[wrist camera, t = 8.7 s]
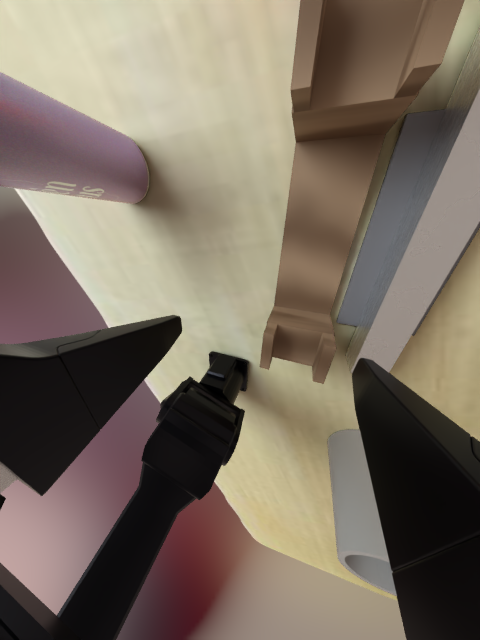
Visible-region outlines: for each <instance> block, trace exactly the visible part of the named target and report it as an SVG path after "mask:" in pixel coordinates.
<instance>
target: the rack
mask: <svg viewBox="0 0 480 640" xmlns="http://www.w3.org/2000/svg"><path fill="white" fill-rule="evenodd" d="M463 3H464V0H301V1H300V10H299V19H298V28H297V37H296V46H295V55H294V64H293V73H292V82H291V97H292V104H293V107H292V118H293V125H294V132H295V139H296V146H295V153H294V161H293V168H292V176H291V183H290V191H289V198H288V206H287V213H286V221H285V228H284V236H283V243H282V251H281V258H280V266H279V273H278V281H277V288H276V296H275V303H274V307H273V310H272V312H271V314H270V317H269V319H268V321H267V326H266V329H265V331H264V334H263V343H262V352H261V361H260V367H261V368H265V369H268V370H269V368H270V364H271V360H272V357H275V358H280V359H284V360H288V361H292V362H296V363H301V364H305V365H309V366H312V371H313V381H314V382H318V383H322V384H324V381H325V379H326V376H327V373H328V370H329V368H330V365H331V362H332V359H333V357H334V354H335V351H336V349H337V347H336V342H335V338H334V336H335V333H334V329H333V325H332V321H331V317H330V313H331V310H332V306H333V303H334V300H335V297H336V293H337V290H338V287H339V284H340V280H341V277H342V274H343V271H344V268H345V264H346V261H347V258H348V255H349V251H350V248H351V245H352V242H353V238H354V235H355V232H356V229H357V225H358V222H359V219H360V216H361V212H362V209H363V206H364V203H365V200H366V196H367V193H368V190H369V187H370V183H371V180H372V177H373V174H374V170H375V167H376V164H377V161H378V157H379V154H380V151H381V148H382V145H383V141H384V138H385V135H386V133H387V132H388V130H389V129H390V128H391V127H392V126H393V124H394V123H395V122H396V121H397V120H398V118H399V117H400V116H401V115H402V114H403V112H404V111H405V110H406V109H407V107H408V106H409V105H410V104H411V103H412V101H413V100H414V99H415V98H416V97H417V95H418V93H419V90H420V89H421V88H422V87H423V85H424V84H425V83H426V82H427V80H428V79H429V78H430V77H431V75H432V74H433V73H434V72H435V71H436V69H437V68H438V67H439V66H440V64H441V63H442V60H443V58H444V55H445V52H446V49H447V47H448V44H449V41H450V38H451V36H452V33H453V30H454V28H455V25H456V22H457V19H458V17H459V14H460V11H461V9H462V6H463Z"/></svg>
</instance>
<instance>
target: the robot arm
mask: <svg viewBox="0 0 480 640" xmlns="http://www.w3.org/2000/svg"><path fill="white" fill-rule="evenodd" d="M181 332H182V324H181V318H180V317H179V316H175V315H171V316H166V317H161V318H156V319H151V320H146V321H141V322H136V323H131V324H126V325H121V326H116V327H111V328H107V329H102V330H97V331H92V332H86V333H82V334H76V335H71V336H65V337H59V338H53V339H47V340H41V341H35V342H29V343H22V344H0V493H1V492H2V491H4V490H5V489H6V488H7V487H8V486H9V485H11V484H12V483H13V482H14V481H15V480H17V479H18V480H19V481H21V482H22V483H24V484H25V485H27V486H28V487H29V488H31V489H32V490H34V491H35V492H36V493H38V494H39V495H41V496H43V495H44V494H45V493H46V492H47V491H48V489H49V488H50V487H51V486H52V485H53V484H54V483H55V482H56V480H57V479H58V478H59V477H60V476H61V475H62V474H63V472H64V471H65V470H66V469H67V468H68V467H69V466H70V464H71V463H72V462H73V461H74V460H75V459H76V457H77V456H78V455H79V454H80V453H81V452H82V451H83V449H84V448H85V447H86V446H87V445H88V444H89V443H90V441H91V440H92V439H93V438H94V437H95V436H96V434H97V433H98V432H99V431H100V429H102V427H103V426H104V425H105V424H106V423H107V422H108V420H109V419H110V418H111V417H112V416H113V415H114V414H115V412H116V411H117V410H118V409H119V408H120V406H121V405H122V404H123V403H124V402H125V401H126V400H127V399H128V397H129V396H130V395H131V394H132V393H133V392H134V391H135V389H136V388H137V387H138V386H139V385H140V384H141V383H142V381H143V380H144V379H145V378H146V377H147V376H148V375H149V373H150V372H151V371H152V370H153V369H154V368H155V367H156V365H157V364H158V363H159V362H160V361H161V360H162V358H163V357H164V356H165V355H166V354H167V352H168V351H169V350H170V348H171V347H172V345H173V344H174V343H175V341H176V340H177V338H178V337H179V336H180V334H181ZM209 362H210V368H209V369H208V371H207V372H206V374H205V375H204V377H203V378H202V380H201V381H200V382H199V383H198V382H197V381H195V380H193V378H191V377H189V378H188V379H187V380H185V381H183V382H182V383H181V384H180V385H179V387H178V388H177V389H176V390H175V391H174V392H173V393H171V394H170V395H169V396H168V397H166V398H165V399H164V400H163V401H162V402H161V404H160V406H161V410H160V412H159V415H158V417H157V419H156V422H158V423H159V424H158V426H157V427H156V429H155V430H154V432H153V433H152V435H151V436H150V438H149V439H148V441H147V444H146V445H145V448H144V452H143V456H142V461H143V465H142V471H141V477H140V482H139V486H138V488H137V490H136V491H135V493H134V495H133V496H132V498H131V499H130V501H129V503H128V504H127V506H126V507H125V509H124V510H123V512H122V514H121V515H120V517H119V518H118V520H117V521H116V523H115V525H114V527H113V528H112V530H111V531H110V533H109V534H108V536H107V537H106V539H105V540H104V542H103V544H102V545H101V547H100V548H99V550H98V551H97V553H96V555H95V556H94V558H93V559H92V561H91V563H90V564H89V566H88V567H87V569H86V570H85V572H84V573H83V575H82V577H81V578H80V580H79V581H78V583H77V584H76V586H75V588H74V589H73V591H72V592H71V594H70V596H69V597H68V599H67V600H66V602H65V603H64V605H63V607H62V608H61V610H60V611H59V613H58V615H57V616H56V615H55V614H54V613H53V612H52V611H51V610H50V609H49V608H48V607H47V606H46V605H45V604H44V603H42V602H41V601H40V600H39V599H38V598H37V597H36V596H35V595H34V594H33V593H32V592H31V591H30V590H29V589H27V587H25V586H24V585H23V584H22V583H21V582H20V581H19V580H18V579H17V578H16V577H15V576H14V575H13V574H11V572H9V571H8V570H7V569H6V568H5V567H4V566H3V565H2V564H1V563H0V640H116V639H117V637H118V634H119V632H120V630H121V628H122V626H123V624H124V622H125V620H126V618H127V616H128V614H129V612H130V610H131V608H132V606H133V604H134V602H135V600H136V598H137V596H138V593H139V592H140V590H141V588H142V586H143V584H144V582H145V579H146V577H147V575H148V573H149V571H150V569H151V567H152V565H153V563H154V561H155V559H156V557H157V555H158V553H159V551H160V549H161V547H162V545H163V543H164V541H165V539H166V537H167V535H168V533H169V531H170V529H171V527H172V525H173V522H174V521H175V519H176V517H177V515H178V513H179V512H181V511H182V510H183V509H184V508H185V507H187V506H188V505H189V504H190V503H191V502H193V501H194V500H195V499H196V498H197V499H198V500H200V499H202V498H203V497H204V496H205V495H206V493H208V492H209V491H210V489H211V487H212V485H213V482H214V480H215V478H216V476H217V474H218V472H219V469H220V467H221V465H223V466H225V465H226V464H227V463H228V461H229V460H230V458H231V456H232V454H233V452H234V450H235V447H236V445H237V442H238V439H239V435H240V431H241V426H242V421H243V417H244V412H245V411H244V410H243V409H240V408H238V407H236V406H235V405H234V402H235V400H236V398H237V395H238V393H239V390H241V391H246V389H247V378H248V361H247V360H244V359H240V358H236V357H232V356H228V355H224V354H220V353H216V352H210V353H209ZM245 363H246V364H245ZM352 382H353V392H354V403H355V410H356V415H357V420H358V424H359V429H360V433H361V438H362V442H363V447H364V451H365V456H366V460H367V464H368V469H369V473H370V478H371V482H372V487H373V491H374V496H375V500H376V505H377V509H378V514H379V518H380V522H381V527H382V531H383V536H384V540H385V545H386V549H387V554H388V558H389V563H390V567H391V570H392V577H393V581H394V586H395V590H396V595H397V599H398V604H399V608H400V613H401V617H402V622H403V626H404V630H405V635H406V639H407V640H480V442H479V441H478V440H477V439H475V438H474V437H470V434H469V433H467V432H466V431H465V430H463V429H462V428H461V427H459V426H458V425H457V424H456V423H454V422H453V421H452V420H450V419H449V418H448V417H446V416H445V415H444V414H442V413H441V412H440V411H438V410H437V409H436V408H435V407H433V406H432V405H431V404H429V403H428V402H427V401H425V400H424V399H423V398H421V397H420V396H419V395H417V394H416V393H415V392H414V391H412V390H411V389H410V388H408V387H407V386H406V385H404V384H403V383H402V382H400V381H399V380H398V379H396V378H395V377H394V376H393V375H391V374H390V373H389V372H387V371H386V370H385V369H383V368H382V367H381V366H379V365H378V364H377V363H375V362H374V361H373V360H371V359H366V358H360V359H359V360H358V362H357V364H356V366H355V368H354V370H353V373H352ZM5 499H6V498H5V497H3V496H2V495H1V494H0V509H1V507H2V505H3V503H4V501H5Z"/></svg>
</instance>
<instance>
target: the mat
mask: <svg viewBox="0 0 480 640" xmlns="http://www.w3.org/2000/svg"><path fill="white" fill-rule="evenodd" d="M445 110H446V109H443V110H434V111H426V112H417V113H409V114H407V115H406V116H405V118H404V121H403V124H402V127H401V130H400V133H399V136H398V139H397V142H396V145H395V148H394V151H393V154H392V157H391V160H390V163H389V166H388V169H387V172H386V175H385V178H384V181H383V184H382V187H381V190H380V193H379V196H378V199H377V202H376V205H375V208H374V211H373V214H372V217H371V220H370V223H369V226H368V228H367V231H366V234H365V237H364V240H363V243H362V246H361V249H360V252H359V255H358V258H357V261H356V264H355V267H354V270H353V273H352V276H351V279H350V282H349V285H348V288H347V291H346V294H345V297H344V300H343V303H342V306H341V309H340V312H339V315H338V318H337V321H336V322H337V323H341V324H347V325H353V326H357V325H358V323H359V320H360V318H361V315H362V313H363V311H364V308H365V306H366V303H367V301H368V298H369V296H370V293H371V291H372V289H373V286H374V284H375V281H376V279H377V276H378V274H379V271H380V269H381V266H382V264H383V262H384V259H385V257H386V254H387V252H388V249H389V247H390V244H391V242H392V240H393V237H394V235H395V232H396V230H397V227H398V225H399V222H400V220H401V218H402V215H403V213H404V210H405V208H406V205H407V203H408V200H409V198H410V195H411V193H412V191H413V188H414V186H415V183H416V181H417V178H418V176H419V173H420V171H421V169H422V166H423V164H424V161H425V159H426V156H427V154H428V151H429V149H430V147H431V144H432V142H433V139H434V137H435V134H436V132H437V129H438V127H439V125H440V122H441V120H442V117H443V115H444V112H445ZM479 228H480V222H479V224H478V225H477V227H476V229H475V230H474V232H473V234H472V235H471V237H470V239H469V240H468V242H467V244H466V245H465V247H464V249H463V250H462V252H461V254H460V255H459V257H458V259H457V260H456V262H455V264H454V265H453V267H452V269H451V270H450V272H449V274H448V275H447V277H446V279H445V280H444V282H443V284H442V285H441V287H440V289H439V290H438V292H437V294H436V295H435V297H434V299H433V300H432V302H431V304H430V305H429V307H428V309H427V310H426V312H425V314H424V315H423V317H422V319H421V320H420V322H419V324H418V325H417V327H416V329H415V330H414V332H413V334H412V336H414V335H415V333H416V332H417V330H418V329H419V327H420V325H421V324H422V322H423V320H424V319H425V317H426V315H427V314H428V312H429V310H430V309H431V307H432V305H433V304H434V302H435V301H436V299H437V297H438V296H439V294H440V292H441V291H442V289H443V287H444V286H445V284H446V282H447V281H448V279H449V277H450V276H451V274H452V273H453V271H454V269H455V268H456V266H457V264H458V263H459V261H460V259H461V258H462V256H463V254H464V253H465V251H466V250H467V248H468V246H469V245H470V243H471V241H472V240H473V238H474V236H475V235H476V233H477V231H478V230H479Z"/></svg>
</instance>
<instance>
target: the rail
mask: <svg viewBox="0 0 480 640" xmlns="http://www.w3.org/2000/svg"><path fill="white" fill-rule="evenodd" d="M479 222H480V27H479V29H478V31H477V34H476V36H475V39H474V41H473V44H472V46H471V49H470V51H469V54H468V56H467V58H466V61H465V63H464V66H463V68H462V71H461V73H460V76H459V78H458V80H457V83H456V85H455V88H454V90H453V93H452V95H451V98H450V100H449V102H448V105H447V107H446V110H445V112H444V115H443V117H442V120H441V122H440V125H439V127H438V129H437V132H436V134H435V137H434V139H433V142H432V144H431V147H430V149H429V151H428V154H427V156H426V159H425V161H424V164H423V166H422V169H421V171H420V173H419V176H418V178H417V181H416V183H415V186H414V188H413V191H412V193H411V195H410V198H409V200H408V203H407V205H406V208H405V210H404V213H403V215H402V218H401V220H400V222H399V225H398V227H397V230H396V232H395V235H394V237H393V240H392V242H391V244H390V247H389V249H388V252H387V254H386V257H385V259H384V262H383V264H382V266H381V269H380V271H379V274H378V276H377V279H376V281H375V284H374V286H373V289H372V291H371V293H370V296H369V298H368V301H367V303H366V306H365V308H364V311H363V313H362V315H361V318H360V320H359V323H358V325H357V328H356V330H355V333H354V335H353V337H352V340H351V342H350V345H349V347H348V350H347V352H346V355H345V356H346V359H347V363H348V366H349V370H350V373H353V370H354V368H355V366H356V364H357V362H358V360H359V359H360V358H366V359H371V360H373V361H374V362H375V363H377V364H378V365H379V366H381V367H382V368H383V369H385V370H386V371H387V372H390V370H391V369H392V367H393V365H394V364H395V362H396V360H397V359H398V357H399V355H400V354H401V352H402V350H403V349H404V347H405V345H406V344H407V342H408V340H409V339H410V337H411V335H412V334H413V332H414V330H415V329H416V327H417V325H418V324H419V322H420V320H421V319H422V317H423V315H424V314H425V312H426V310H427V309H428V307H429V305H430V304H431V302H432V300H433V299H434V297H435V295H436V294H437V292H438V290H439V289H440V287H441V285H442V284H443V282H444V280H445V279H446V277H447V275H448V274H449V272H450V270H451V269H452V267H453V265H454V264H455V262H456V260H457V259H458V257H459V255H460V254H461V252H462V250H463V249H464V247H465V245H466V244H467V242H468V240H469V239H470V237H471V235H472V234H473V232H474V230H475V229H476V227H477V225H478V224H479Z"/></svg>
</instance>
